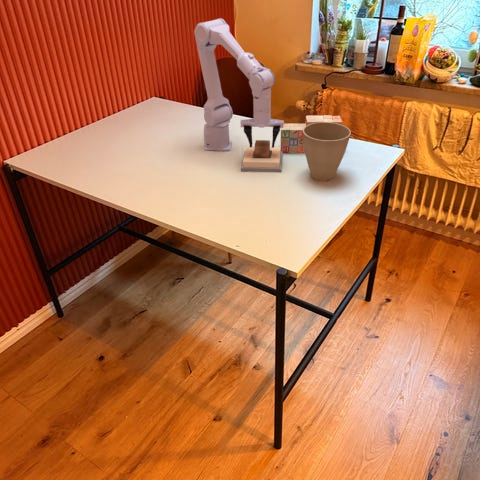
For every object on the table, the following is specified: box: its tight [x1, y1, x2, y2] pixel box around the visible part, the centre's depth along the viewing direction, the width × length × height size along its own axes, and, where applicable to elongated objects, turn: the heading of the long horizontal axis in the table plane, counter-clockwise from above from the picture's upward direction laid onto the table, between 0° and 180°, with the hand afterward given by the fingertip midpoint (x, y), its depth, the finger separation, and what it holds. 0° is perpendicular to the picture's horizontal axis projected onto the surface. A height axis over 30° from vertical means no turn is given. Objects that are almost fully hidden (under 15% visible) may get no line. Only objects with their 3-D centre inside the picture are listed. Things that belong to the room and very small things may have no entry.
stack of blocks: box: [280, 114, 343, 154], centre depth 164 cm, size 21×6×12 cm, turn 86°
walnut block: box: [254, 139, 271, 158], centre depth 158 cm, size 5×5×6 cm
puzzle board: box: [240, 145, 284, 173], centre depth 159 cm, size 14×14×3 cm
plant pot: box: [303, 122, 352, 182], centre depth 146 cm, size 15×15×16 cm
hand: (262, 146), depth 157 cm, fingers open, 7 cm apart
